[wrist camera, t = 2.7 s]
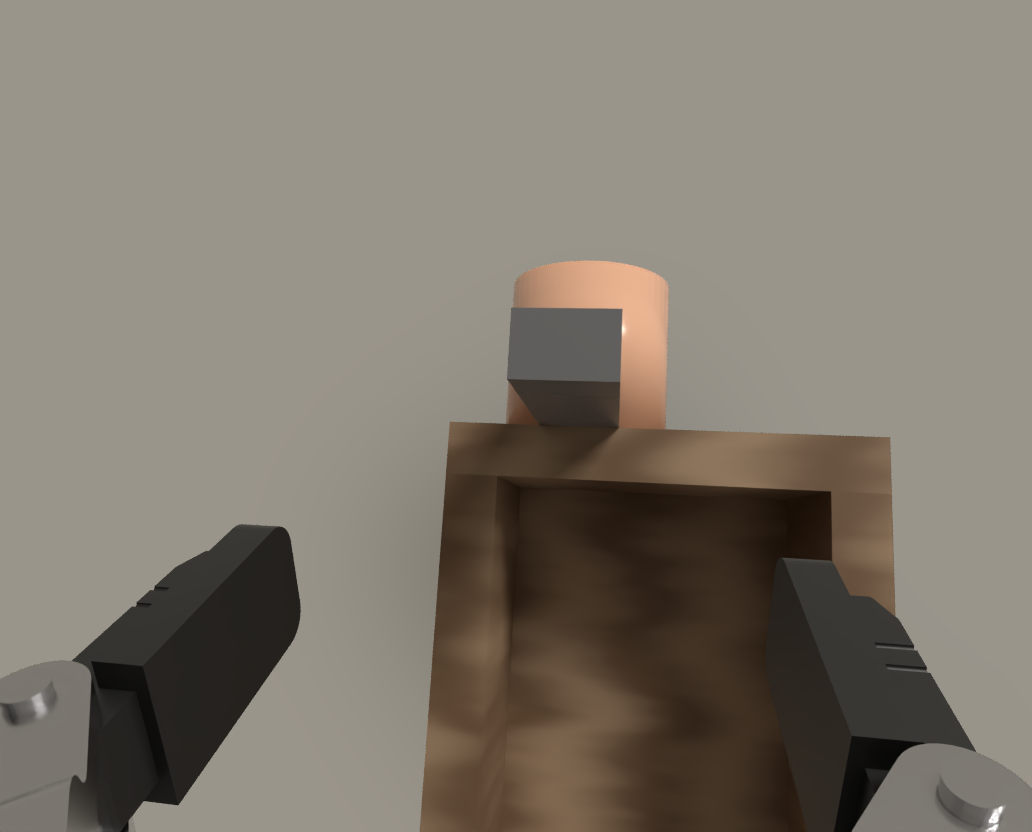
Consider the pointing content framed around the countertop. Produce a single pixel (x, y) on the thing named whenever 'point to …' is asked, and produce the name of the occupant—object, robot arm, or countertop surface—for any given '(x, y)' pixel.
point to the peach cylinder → (588, 346)
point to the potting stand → (630, 621)
